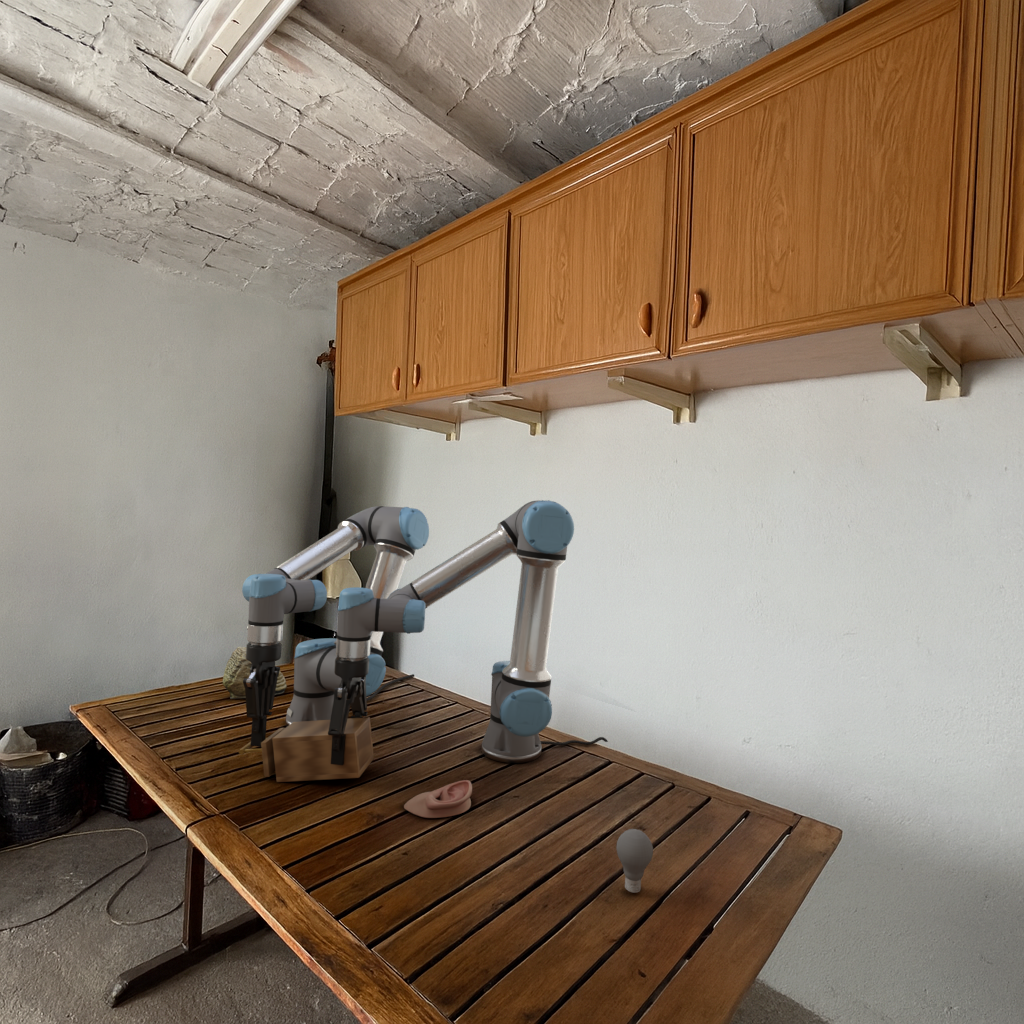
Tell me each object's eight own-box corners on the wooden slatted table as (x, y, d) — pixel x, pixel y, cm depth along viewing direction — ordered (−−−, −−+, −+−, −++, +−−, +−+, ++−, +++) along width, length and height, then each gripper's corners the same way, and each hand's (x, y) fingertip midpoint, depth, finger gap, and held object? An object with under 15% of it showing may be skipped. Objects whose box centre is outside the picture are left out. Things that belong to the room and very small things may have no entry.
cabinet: (276, 782, 140) (272, 738, 140) (297, 762, 150) (293, 721, 150) (358, 777, 138) (354, 733, 138) (373, 758, 148) (369, 717, 148)
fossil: (218, 695, 195) (220, 647, 195) (278, 685, 208) (279, 640, 207) (228, 703, 189) (230, 653, 188) (289, 692, 201) (290, 645, 201)
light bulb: (610, 879, 108) (613, 822, 108) (644, 879, 109) (647, 822, 109) (619, 902, 102) (622, 840, 102) (655, 901, 103) (658, 840, 103)
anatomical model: (398, 794, 127) (418, 771, 139) (398, 814, 128) (417, 789, 139) (462, 803, 125) (477, 779, 136) (461, 823, 125) (476, 797, 136)
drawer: (239, 778, 141) (235, 744, 141) (259, 761, 150) (256, 729, 150) (339, 773, 139) (336, 738, 139) (354, 756, 148) (351, 723, 148)
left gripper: (263, 635, 152) (256, 733, 152) (233, 646, 139) (226, 754, 139) (293, 638, 151) (286, 736, 151) (266, 649, 138) (259, 757, 138)
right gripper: (354, 644, 155) (349, 733, 155) (315, 668, 132) (309, 773, 132) (384, 646, 154) (378, 736, 154) (350, 671, 131) (343, 777, 131)
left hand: (257, 744), depth 145 cm, fingers closed
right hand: (346, 753), depth 143 cm, fingers closed on cabinet, 10 cm apart
